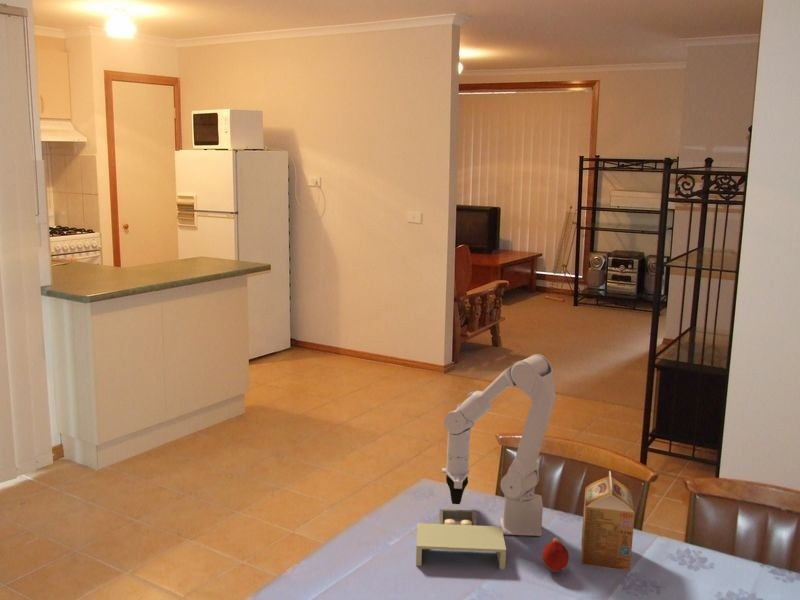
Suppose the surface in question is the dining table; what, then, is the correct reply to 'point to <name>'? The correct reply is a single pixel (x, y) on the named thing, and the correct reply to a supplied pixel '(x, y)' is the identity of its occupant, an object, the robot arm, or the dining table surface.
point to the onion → (555, 556)
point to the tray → (457, 517)
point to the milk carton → (607, 525)
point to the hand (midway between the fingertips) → (455, 503)
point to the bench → (461, 539)
